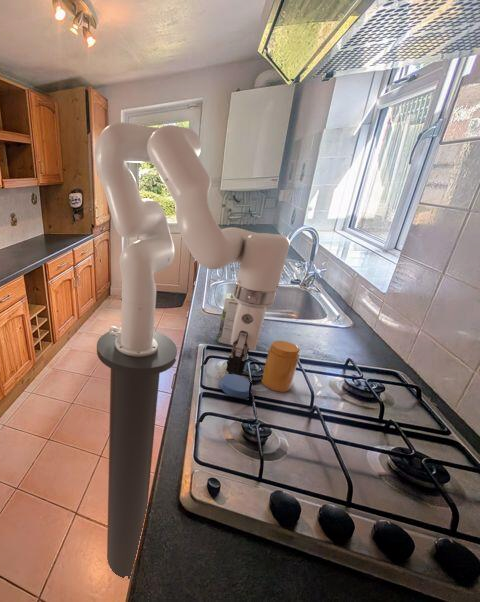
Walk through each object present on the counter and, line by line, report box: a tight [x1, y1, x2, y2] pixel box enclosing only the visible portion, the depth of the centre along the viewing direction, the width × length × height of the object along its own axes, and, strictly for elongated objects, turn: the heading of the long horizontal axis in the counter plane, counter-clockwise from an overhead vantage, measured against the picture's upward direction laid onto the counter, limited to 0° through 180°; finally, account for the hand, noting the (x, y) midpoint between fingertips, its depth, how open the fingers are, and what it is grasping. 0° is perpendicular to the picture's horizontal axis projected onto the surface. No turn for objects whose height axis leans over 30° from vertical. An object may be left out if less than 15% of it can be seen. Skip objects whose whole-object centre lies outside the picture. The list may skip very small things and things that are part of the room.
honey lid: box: [219, 373, 253, 399], centre depth 71 cm, size 7×7×2 cm
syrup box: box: [216, 293, 238, 346], centre depth 90 cm, size 6×6×14 cm
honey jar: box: [260, 340, 301, 393], centre depth 71 cm, size 6×6×11 cm
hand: (237, 362), depth 70 cm, fingers open, 9 cm apart
